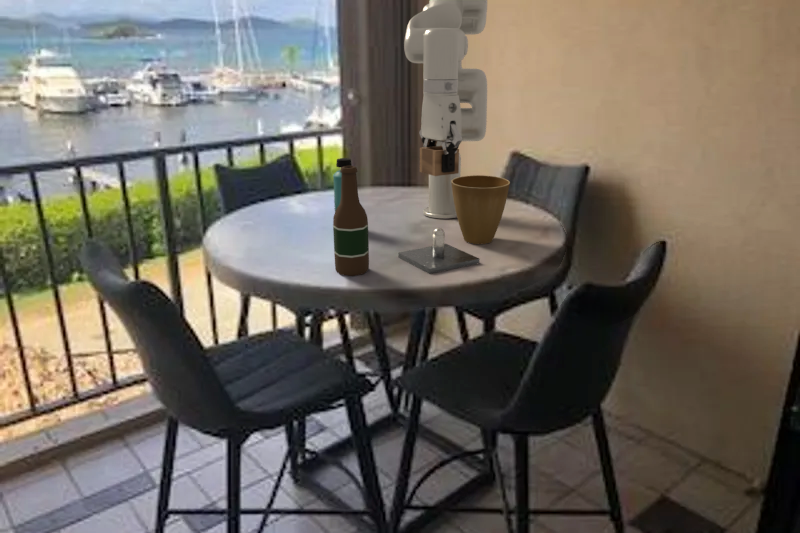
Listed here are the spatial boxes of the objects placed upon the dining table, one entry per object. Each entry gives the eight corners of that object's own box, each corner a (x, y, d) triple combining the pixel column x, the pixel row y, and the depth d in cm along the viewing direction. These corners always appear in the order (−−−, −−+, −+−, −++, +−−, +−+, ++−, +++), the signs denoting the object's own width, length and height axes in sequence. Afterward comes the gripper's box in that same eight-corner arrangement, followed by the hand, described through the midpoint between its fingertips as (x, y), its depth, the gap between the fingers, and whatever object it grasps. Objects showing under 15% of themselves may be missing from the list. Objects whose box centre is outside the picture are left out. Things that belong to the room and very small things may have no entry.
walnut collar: (442, 169, 148) (443, 145, 146) (458, 173, 142) (459, 148, 141) (419, 171, 145) (419, 147, 143) (434, 176, 139) (435, 151, 138)
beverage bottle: (354, 233, 173) (352, 160, 166) (331, 232, 174) (328, 160, 168) (361, 227, 179) (359, 156, 172) (338, 225, 180) (335, 156, 174)
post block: (445, 248, 160) (446, 217, 157) (479, 263, 148) (480, 230, 146) (398, 257, 153) (398, 225, 150) (429, 273, 142) (429, 240, 139)
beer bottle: (335, 265, 147) (330, 163, 139) (368, 264, 148) (366, 163, 140) (334, 277, 140) (330, 170, 132) (369, 276, 141) (367, 169, 133)
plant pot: (440, 236, 169) (441, 178, 164) (488, 230, 175) (490, 173, 170) (467, 252, 156) (469, 189, 151) (517, 244, 162) (521, 183, 157)
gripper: (478, 89, 132) (475, 173, 138) (433, 85, 146) (432, 162, 152) (448, 90, 129) (447, 177, 134) (405, 86, 143) (405, 165, 149)
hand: (439, 168), depth 143 cm, fingers closed on walnut collar, 6 cm apart
